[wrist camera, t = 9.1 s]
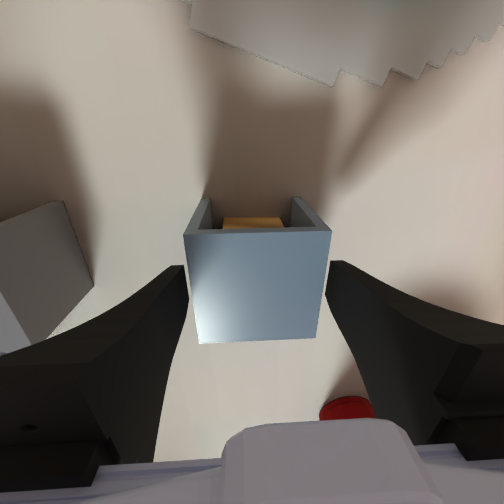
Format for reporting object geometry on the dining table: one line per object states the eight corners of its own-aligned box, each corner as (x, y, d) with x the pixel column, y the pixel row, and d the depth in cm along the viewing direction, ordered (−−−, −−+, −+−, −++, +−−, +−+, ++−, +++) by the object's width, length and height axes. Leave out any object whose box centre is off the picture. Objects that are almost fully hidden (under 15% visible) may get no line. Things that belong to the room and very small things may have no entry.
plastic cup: (404, 422, 27) (513, 612, 16) (313, 448, 29) (359, 638, 18) (390, 364, 22) (529, 579, 12) (281, 399, 24) (317, 617, 13)
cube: (226, 265, 17) (223, 296, 14) (224, 217, 15) (220, 239, 12) (276, 264, 17) (284, 295, 14) (279, 216, 15) (289, 238, 12)
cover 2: (209, 282, 17) (199, 343, 12) (201, 198, 14) (183, 234, 10) (293, 279, 17) (315, 338, 13) (300, 196, 15) (332, 230, 10)
